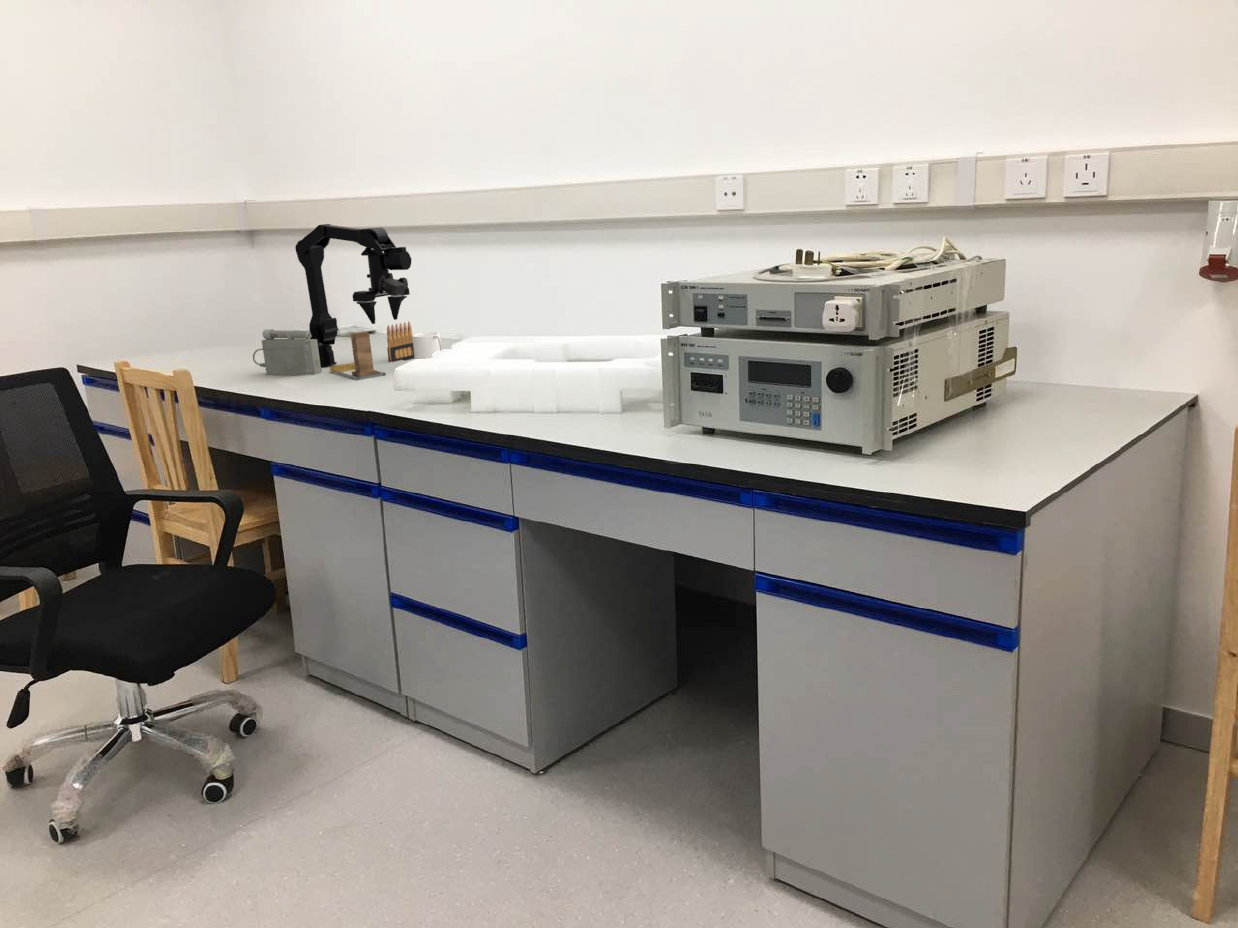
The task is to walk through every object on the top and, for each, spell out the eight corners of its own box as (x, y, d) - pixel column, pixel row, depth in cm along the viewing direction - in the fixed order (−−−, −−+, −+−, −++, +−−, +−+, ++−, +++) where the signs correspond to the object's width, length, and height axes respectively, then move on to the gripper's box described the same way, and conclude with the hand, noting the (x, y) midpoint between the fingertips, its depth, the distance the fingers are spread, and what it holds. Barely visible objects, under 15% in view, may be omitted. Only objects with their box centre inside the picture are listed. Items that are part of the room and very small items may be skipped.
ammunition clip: (392, 363, 319) (387, 325, 316) (388, 363, 320) (383, 325, 317) (417, 357, 327) (412, 321, 324) (413, 357, 328) (408, 320, 325)
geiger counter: (318, 328, 304) (256, 328, 315) (304, 331, 299) (241, 331, 309) (325, 373, 308) (263, 372, 318) (310, 377, 302) (248, 375, 313)
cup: (432, 371, 299) (428, 338, 296) (410, 368, 308) (406, 335, 305) (455, 367, 304) (451, 334, 302) (433, 364, 313) (429, 331, 310)
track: (330, 373, 306) (329, 366, 306) (358, 369, 312) (357, 361, 311) (357, 381, 290) (355, 373, 289) (386, 377, 295) (385, 368, 294)
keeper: (352, 376, 297) (346, 333, 293) (370, 373, 300) (364, 330, 296) (360, 378, 292) (354, 334, 289) (378, 375, 295) (372, 332, 292)
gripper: (375, 273, 293) (381, 327, 297) (419, 267, 308) (425, 318, 312) (348, 273, 299) (354, 325, 303) (393, 267, 314) (399, 317, 318)
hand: (384, 321), depth 309 cm, fingers open, 9 cm apart
